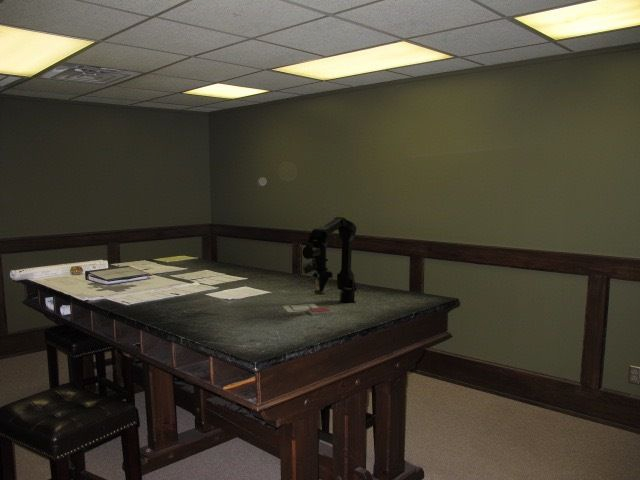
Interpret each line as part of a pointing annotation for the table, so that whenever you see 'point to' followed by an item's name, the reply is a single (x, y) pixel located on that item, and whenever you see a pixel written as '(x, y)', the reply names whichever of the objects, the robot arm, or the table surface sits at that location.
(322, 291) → the stamp
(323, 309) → the ink pad
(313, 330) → the table surface
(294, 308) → the paper
